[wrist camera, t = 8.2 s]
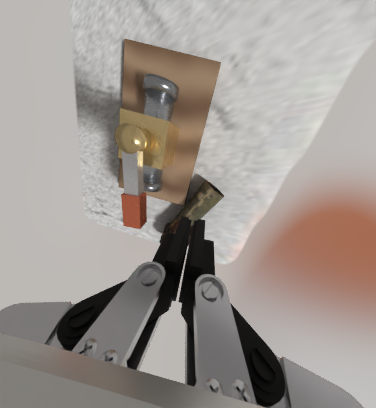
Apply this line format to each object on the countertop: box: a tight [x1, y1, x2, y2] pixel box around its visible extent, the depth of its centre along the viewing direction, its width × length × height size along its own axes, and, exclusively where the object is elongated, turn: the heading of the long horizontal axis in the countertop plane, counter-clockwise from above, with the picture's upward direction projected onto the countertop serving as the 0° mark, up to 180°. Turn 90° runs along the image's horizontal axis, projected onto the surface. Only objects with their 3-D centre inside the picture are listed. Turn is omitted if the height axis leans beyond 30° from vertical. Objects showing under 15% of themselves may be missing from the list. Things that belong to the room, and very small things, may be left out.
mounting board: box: [119, 39, 221, 206], centre depth 26 cm, size 24×15×2 cm, turn 166°
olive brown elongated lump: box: [160, 180, 224, 246], centre depth 30 cm, size 18×7×6 cm, turn 141°
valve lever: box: [115, 123, 152, 229], centre depth 19 cm, size 14×3×3 cm, turn 173°
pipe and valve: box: [118, 74, 180, 192], centre depth 22 cm, size 16×7×7 cm, turn 166°
